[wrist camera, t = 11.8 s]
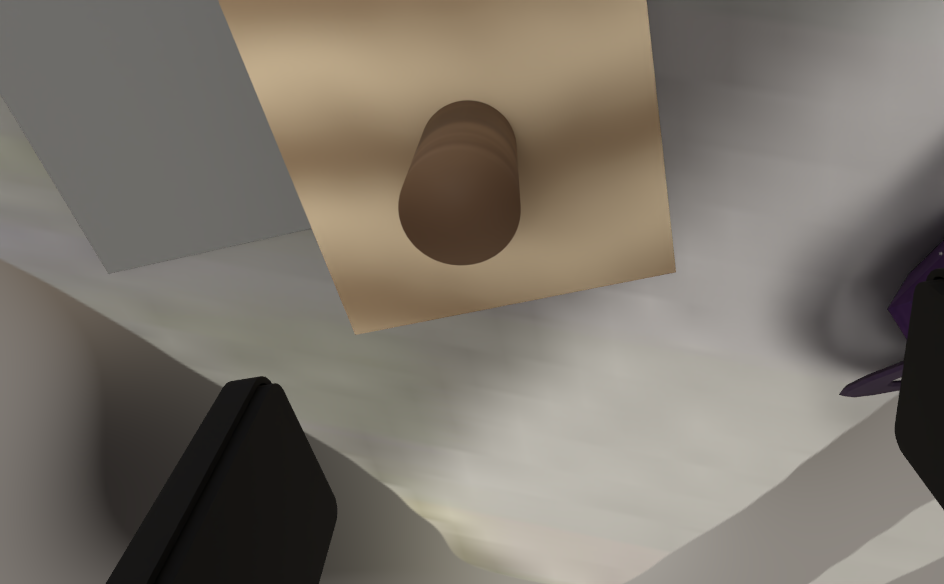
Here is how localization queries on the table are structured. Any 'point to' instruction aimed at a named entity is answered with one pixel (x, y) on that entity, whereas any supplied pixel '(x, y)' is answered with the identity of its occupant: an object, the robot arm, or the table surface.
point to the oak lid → (465, 146)
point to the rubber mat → (146, 125)
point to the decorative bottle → (901, 313)
